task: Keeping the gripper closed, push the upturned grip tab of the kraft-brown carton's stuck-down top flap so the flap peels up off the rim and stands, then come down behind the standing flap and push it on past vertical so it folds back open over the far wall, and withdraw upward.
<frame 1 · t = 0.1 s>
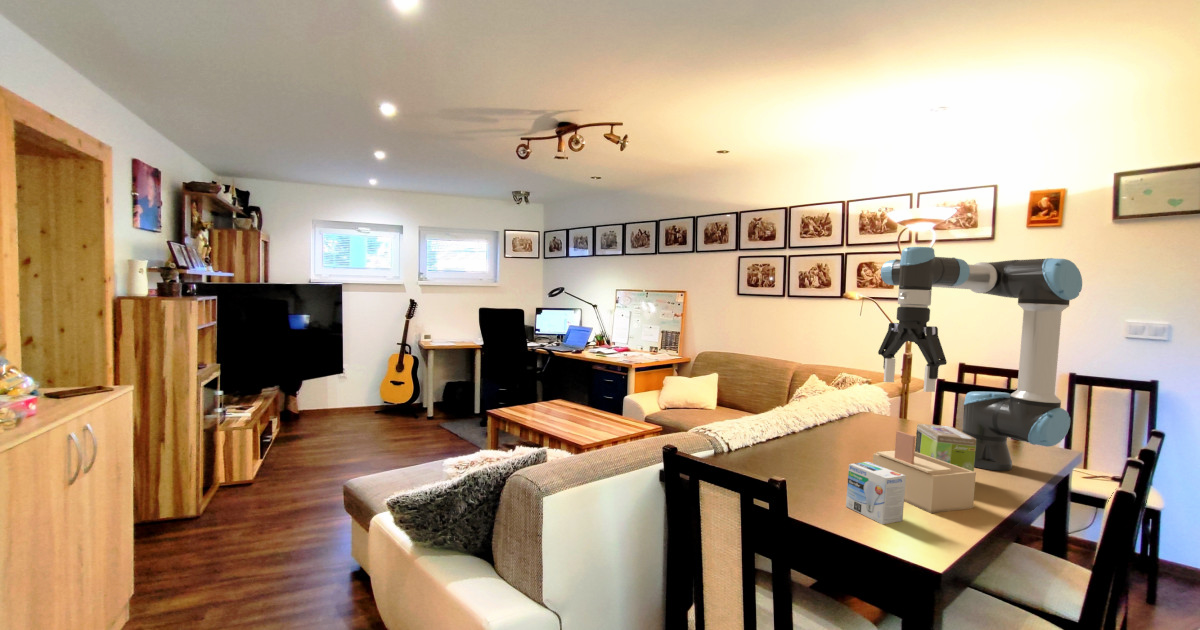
hand: (907, 386, 141), 28 cm above the table, fingers open, 13 cm apart
flap: (913, 447, 137), point 13 cm above the table, hinge at 0.0°
tea box: (941, 481, 152), on the table
light bulb box: (873, 514, 126), on the table
carton: (919, 496, 139), on the table
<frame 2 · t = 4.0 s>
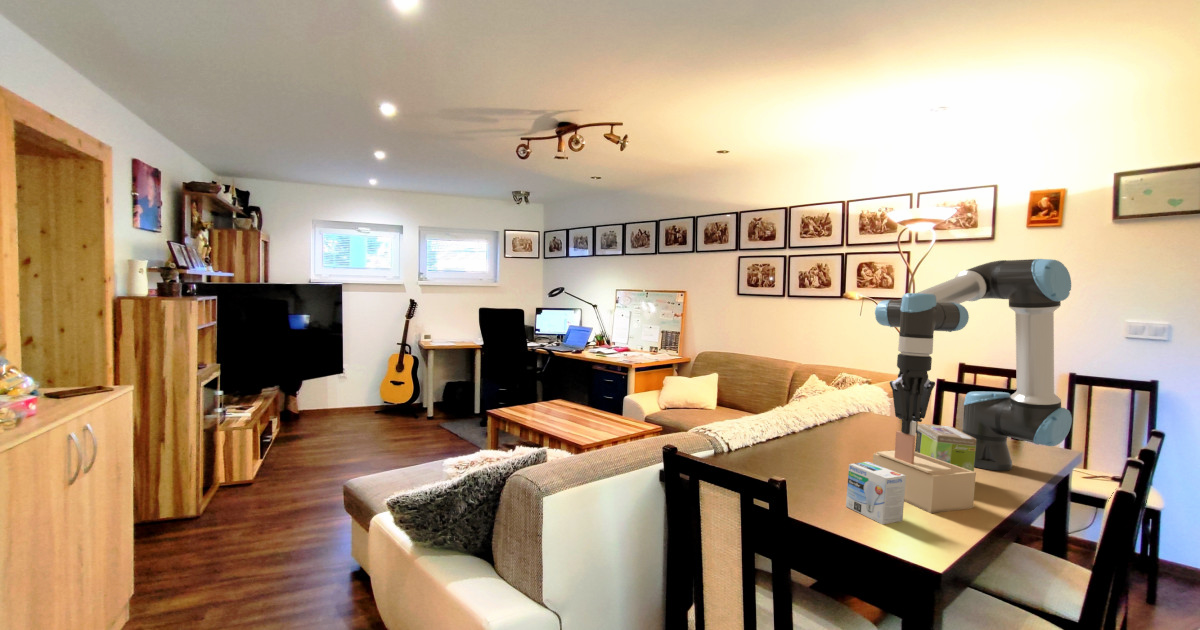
hand: (908, 445, 137), 14 cm above the table, fingers closed
flap: (913, 447, 137), point 13 cm above the table, hinge at 0.6°, touching gripper
everything else where it was.
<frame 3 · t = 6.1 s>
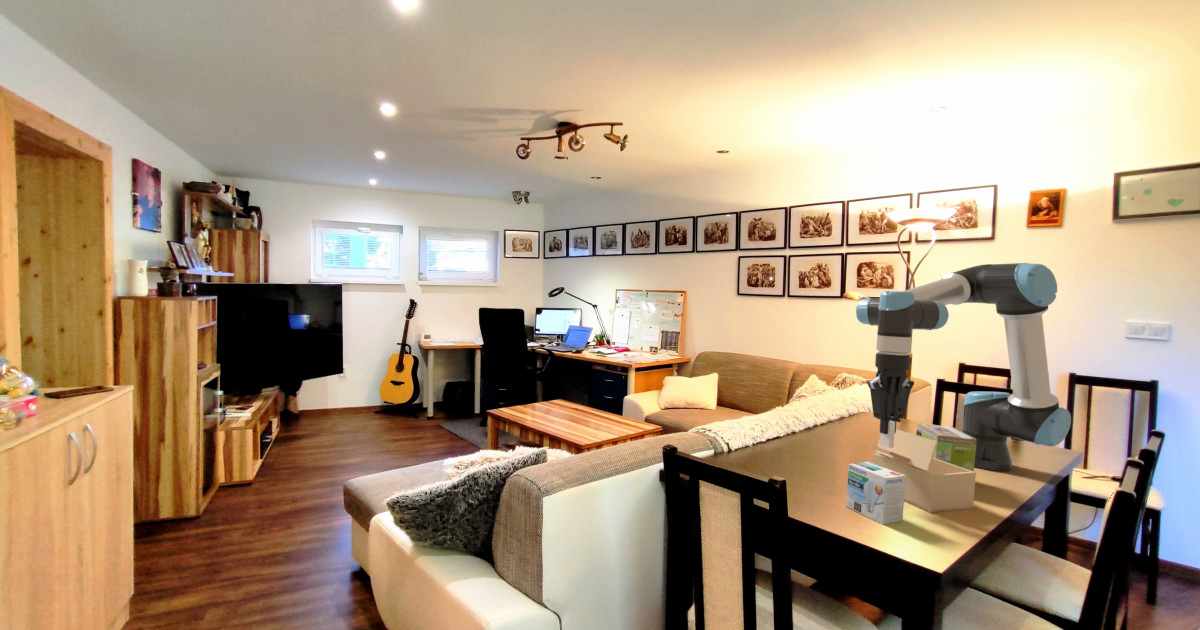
hand: (886, 446, 134), 14 cm above the table, fingers closed
flap: (895, 443, 135), point 15 cm above the table, hinge at 71.4°
everything else where it was.
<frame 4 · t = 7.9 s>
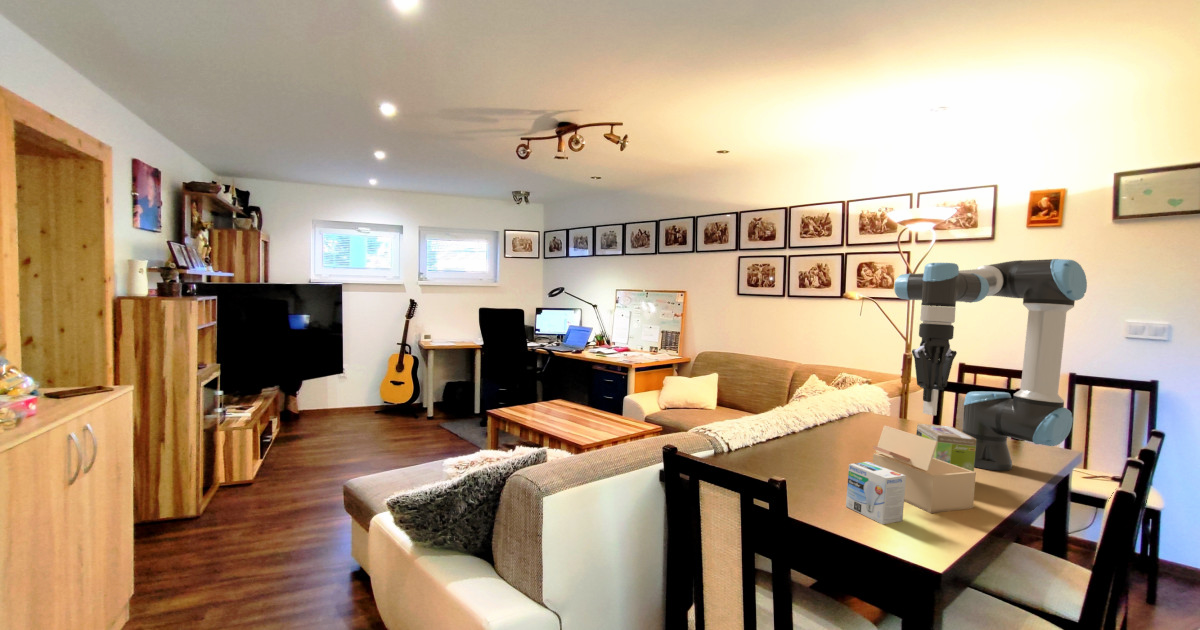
hand: (929, 414, 138), 22 cm above the table, fingers closed
nothing on the table moved.
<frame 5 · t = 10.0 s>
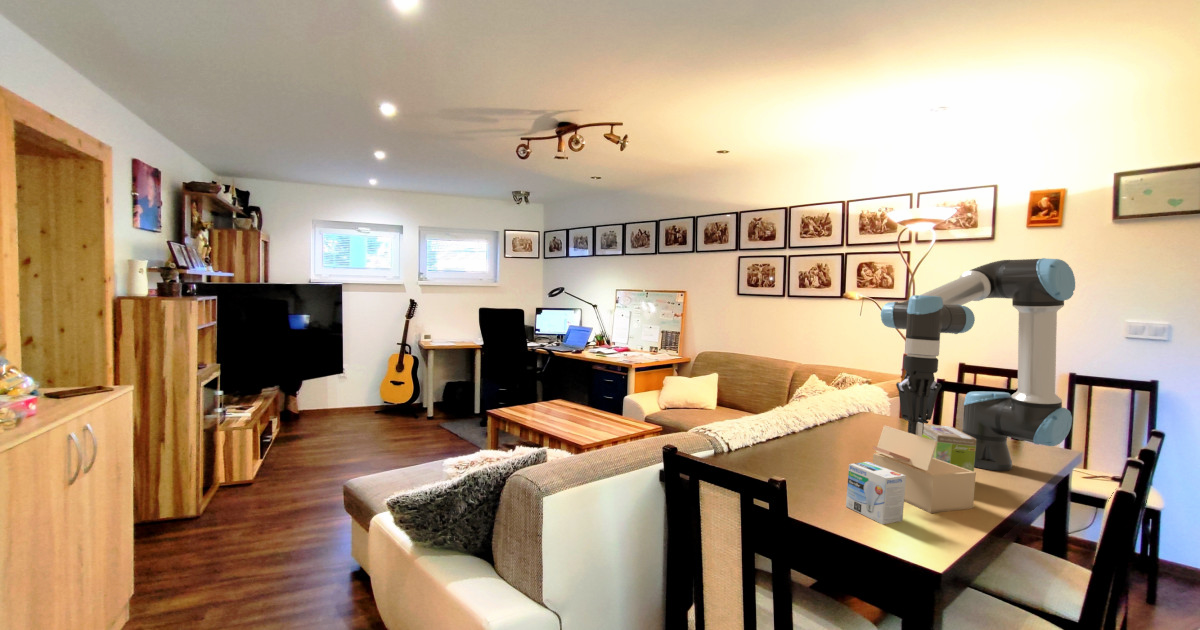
hand: (914, 447, 137), 13 cm above the table, fingers closed
flap: (895, 443, 135), point 14 cm above the table, hinge at 72.1°, touching gripper
everything else where it was.
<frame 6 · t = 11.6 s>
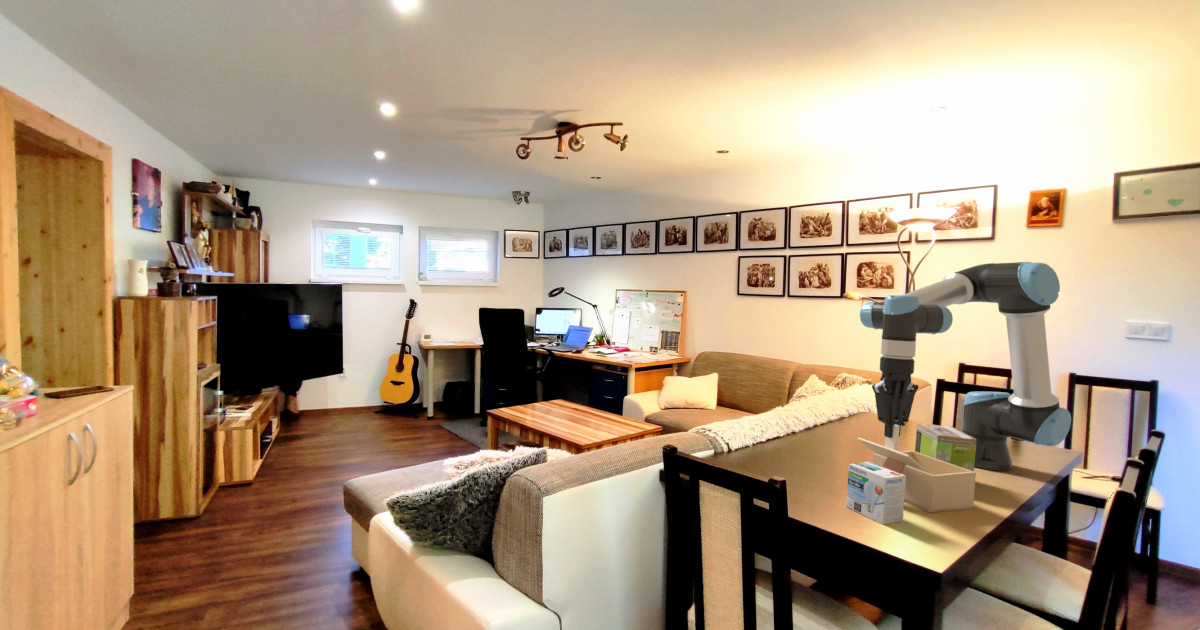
hand: (891, 449, 135), 13 cm above the table, fingers closed
flap: (884, 465, 135), point 9 cm above the table, hinge at 145.8°, touching gripper
everything else where it was.
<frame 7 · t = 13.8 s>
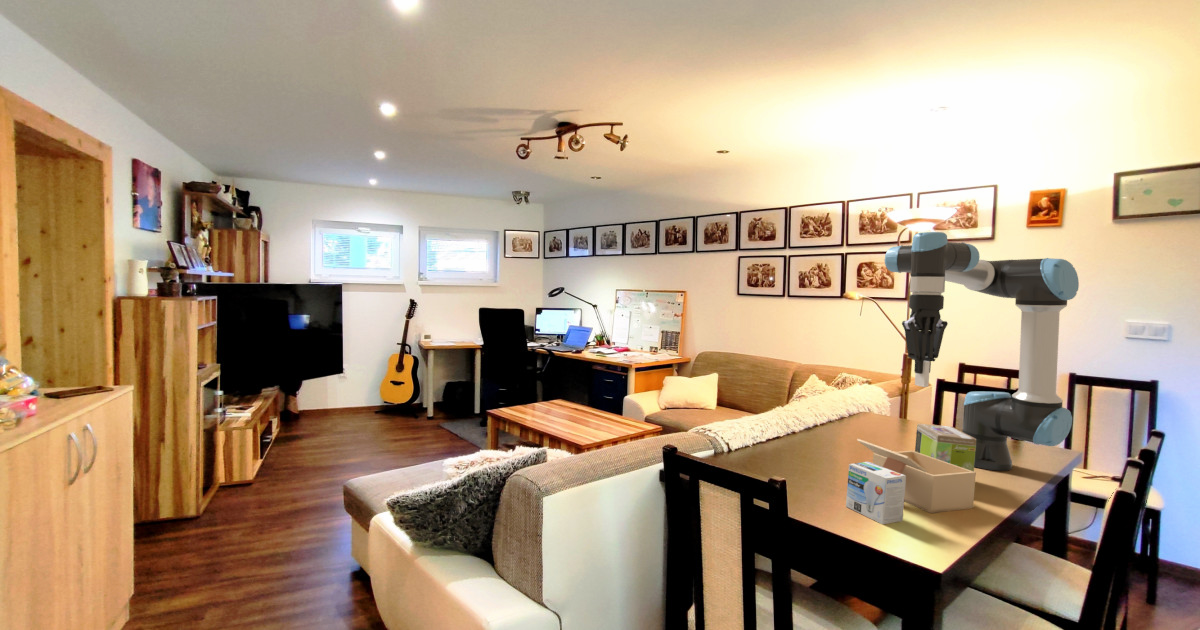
hand: (921, 385, 137), 29 cm above the table, fingers closed
flap: (884, 466, 135), point 9 cm above the table, hinge at 149.0°
everything else where it was.
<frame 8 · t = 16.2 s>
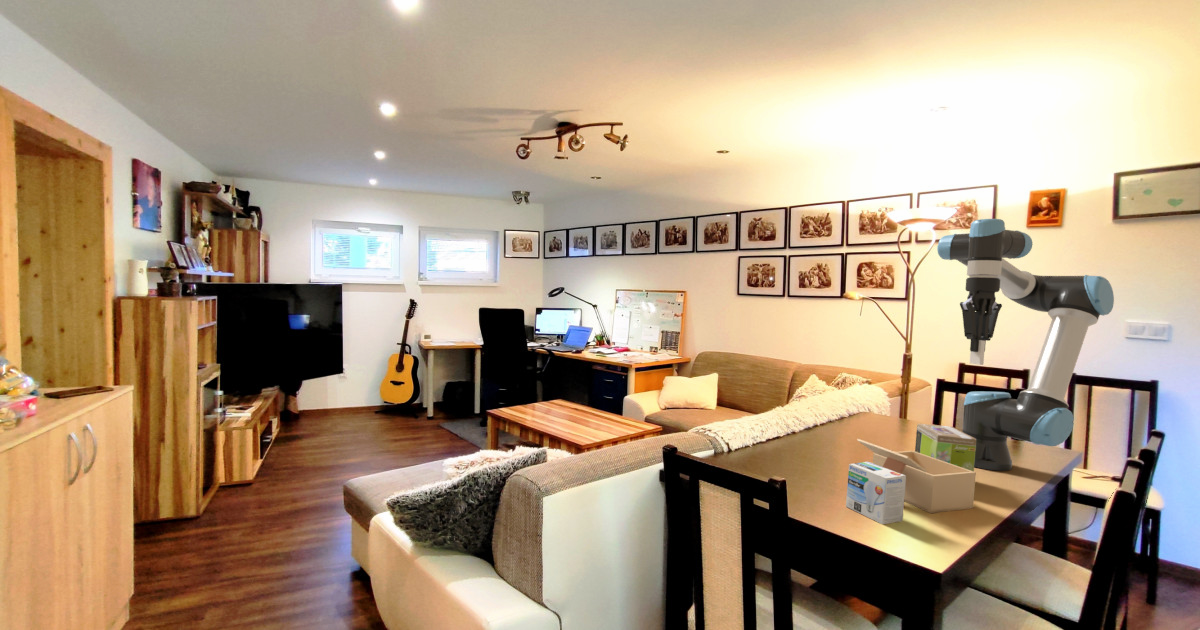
hand: (976, 363, 146), 34 cm above the table, fingers closed
nothing on the table moved.
at the end: flap at +149° (first picture: +0°) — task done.
